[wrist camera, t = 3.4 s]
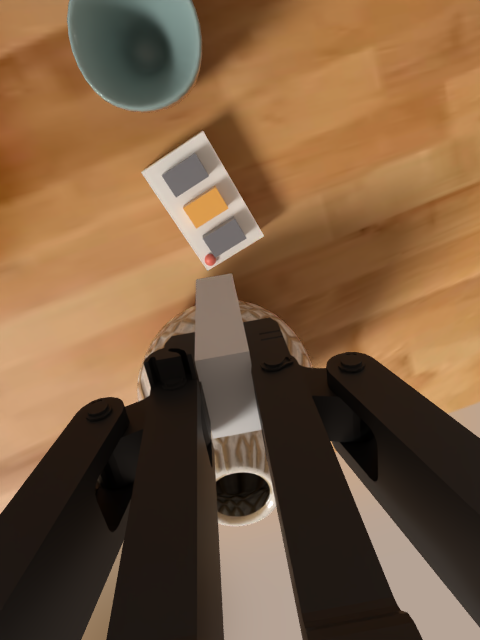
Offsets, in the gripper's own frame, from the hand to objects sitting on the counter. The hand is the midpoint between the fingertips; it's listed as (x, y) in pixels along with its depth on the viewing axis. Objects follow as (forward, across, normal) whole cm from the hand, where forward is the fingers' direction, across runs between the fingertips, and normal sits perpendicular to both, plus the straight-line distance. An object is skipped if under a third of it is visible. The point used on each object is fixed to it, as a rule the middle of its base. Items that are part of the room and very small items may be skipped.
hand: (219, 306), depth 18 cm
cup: (+24, -2, +12) cm, 27 cm away
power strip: (+24, 0, +1) cm, 24 cm away
